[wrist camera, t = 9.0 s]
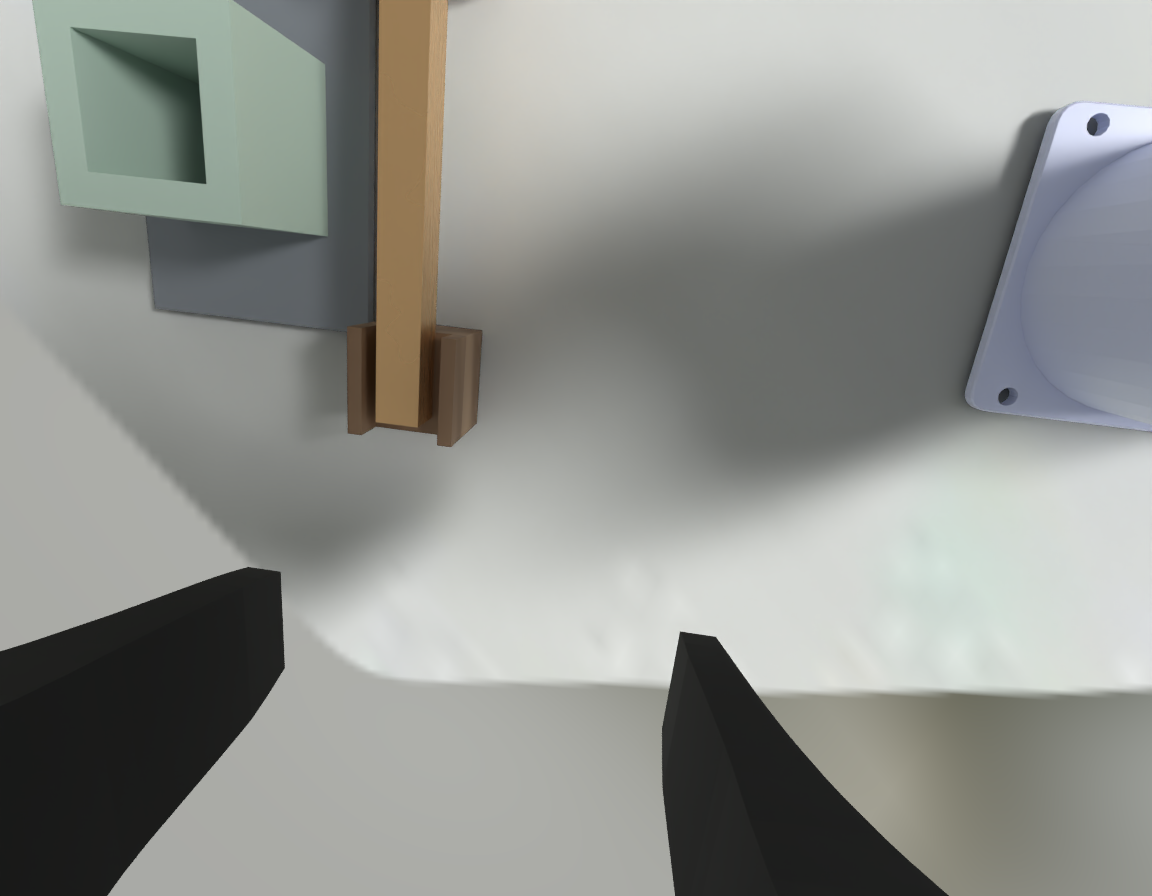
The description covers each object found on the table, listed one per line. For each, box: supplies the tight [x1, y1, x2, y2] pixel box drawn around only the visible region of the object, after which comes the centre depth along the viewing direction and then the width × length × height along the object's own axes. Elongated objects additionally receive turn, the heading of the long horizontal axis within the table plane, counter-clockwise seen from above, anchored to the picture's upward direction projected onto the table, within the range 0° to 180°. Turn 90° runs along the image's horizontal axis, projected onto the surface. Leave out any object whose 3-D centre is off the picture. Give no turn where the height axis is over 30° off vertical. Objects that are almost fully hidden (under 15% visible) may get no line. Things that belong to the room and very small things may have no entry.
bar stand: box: [347, 322, 482, 447], centre depth 16 cm, size 3×15×3 cm, turn 174°
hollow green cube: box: [32, 0, 328, 236], centre depth 15 cm, size 4×4×4 cm
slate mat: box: [146, 0, 376, 332], centre depth 17 cm, size 7×10×1 cm
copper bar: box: [376, 0, 448, 428], centre depth 15 cm, size 1×14×1 cm, turn 174°
